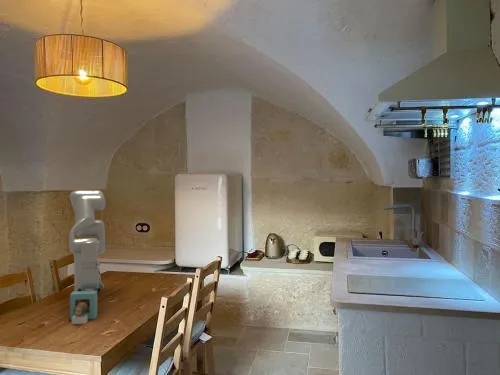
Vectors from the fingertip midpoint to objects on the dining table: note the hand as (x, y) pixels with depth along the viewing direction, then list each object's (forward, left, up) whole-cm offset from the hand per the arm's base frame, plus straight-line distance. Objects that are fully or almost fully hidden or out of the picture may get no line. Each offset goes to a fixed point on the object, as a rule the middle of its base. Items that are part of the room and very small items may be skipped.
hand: (89, 301), depth 199 cm
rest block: (+17, 0, -5) cm, 17 cm away
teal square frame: (+10, 0, -5) cm, 11 cm away
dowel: (+9, 0, -1) cm, 9 cm away
